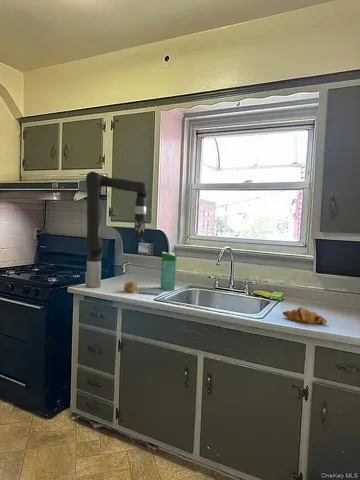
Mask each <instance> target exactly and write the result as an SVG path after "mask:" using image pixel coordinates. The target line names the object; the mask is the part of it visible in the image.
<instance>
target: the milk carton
mask: <svg viewBox="0 0 360 480" xmlns="http://www.w3.org/2000/svg"><path fill="white" fill-rule="evenodd" d="M176 256H177V255H176V254H175V253H174V252H170V251H169V252H166V251H162V252H161V272H160V289H162V290H163V291H169V292H170V291H173V292H174V291H175V281H176V280H175V279H176V262H177V261H176V259H177V257H176Z"/></svg>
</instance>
